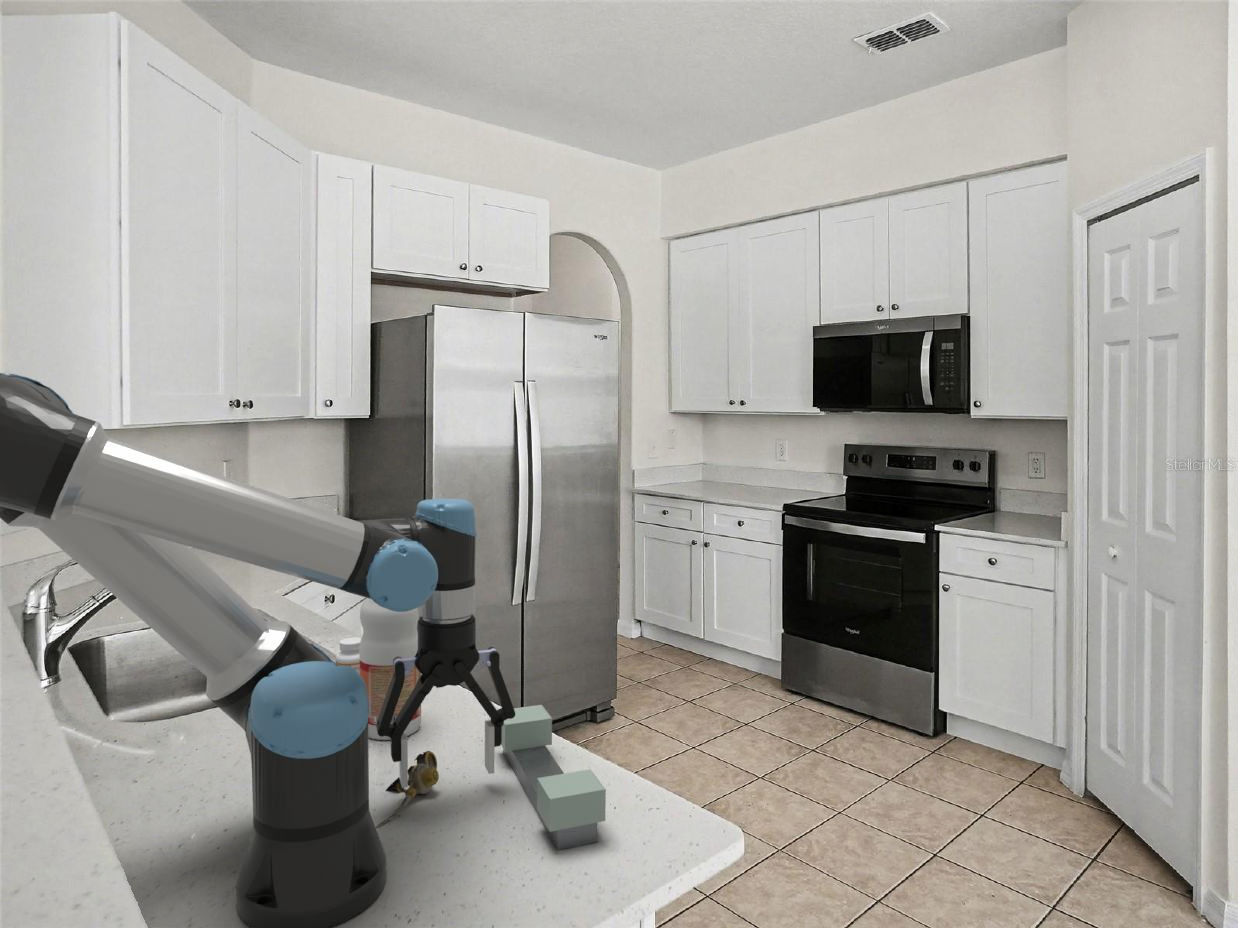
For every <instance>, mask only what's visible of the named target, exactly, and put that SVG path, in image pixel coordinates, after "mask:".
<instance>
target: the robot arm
mask: <svg viewBox="0 0 1238 928" xmlns="http://www.w3.org/2000/svg"><path fill="white" fill-rule="evenodd" d="M0 519H1V520H2V521H3V522H4V523H6V525H8V526H9V527H23V528H24V527H25V528H34V529H38V530H39V531H40V532H41V533H42V534H43V535H45V537H47V538H48V539H49V540H50V541H52V542H53V543H54V544H55V545H56V546H57V547H59V549H61V550H62V551H63V552H64V553H65V554H67V556H69V558H71V559H72V560H73V561H75V562H76V563H77V564H78V565H79V566H80V567H81V568H82V569H83V570H84V571H85V572H87V573H88V574H89V575H90V576H92V577H93V579H95V580H96V582H97V581H98V583H99V584H101V586H103V587H104V589H106V590H107V591H108V592H110V593H111V594H112V595H113V596H114V597H116V599H117V600H119V601H120V602H121V603H122V604H123V605H124V606H125V607H127V608H128V609H129V610H130V611H131V612H132V613H133V614H134V615H136V616H137V617H138V618H139V619H140V620H142V621H143V622H144V624H146V625H147V626H148V627H149V628H150V629H152V630H153V631H154V632H155V633H156V635H157V634H158V635H159V636H160V637H161V638H162V639H163V640H164V641H165V642H166V643H168V645H170V646H171V647H172V648H173V649H174V650H176V652H178V653H179V654H180V655H181V656H183V657H184V658H185V660H187V661H188V662H189V663H190V664H192V665H193V666H194V667H195V668H196V669H197V670H198V671H199V672H200V673H202V674H203V675H204V676H205V677H206V690H205V696H206V697H207V698H208V700H210V701H211V702H212V703H213V704H214V705H215V706H216V707H218V708H219V709H220V710H221V711H222V712H223V713H224V714H226V716H228V717H229V718H230V719H232V721H234V722H235V723H236V724H237V725H238V726H239V727H240V728H242V730H244V733H245V737H246V741H247V746H248V750H249V753H250V762H251V777H252V778H251V779H252V780H251V785H252V813H253V814H252V819H253V820H252V823H253V825H252V827H253V829H252V830H253V831H252V834H251V837H250V840H249V843H248V846H247V849H246V852H245V855H244V859H243V862H242V865H241V867H240V872H239V874H238V877H237V881H236V886H235V887H236V891H235V892H236V911H237V914H238V915H239V917H240V919H241V920H242V921H243V922H244V923H245V924H246V925H247V926H249V927H251V926H252V927H251V928H253V927H255V928H331V927H334V926H336V925H339V924H341V923H344V922H345V921H347V920H350V919H352V918H353V917H355V916H357V915H358V914H360V913H361V912H364V910H365V909H367V908H368V907H369V906H371V905H372V904H373V903H374V902H375V901H376V899H378V897H379V896H380V895H381V894H382V892H383V890H384V888H385V885H386V882H387V855H386V853H385V849H384V845H383V844H382V842H381V838H380V836H379V834H378V831H377V828H376V826H375V825H376V824H375V823H374V820H373V817H372V814H371V813H370V798H369V797H370V787H369V785H370V781H369V778H370V776H369V775H370V773H369V772H370V770H369V766H370V765H369V764H370V763H369V737H368V718H369V713H370V708H369V707H370V705H369V699H368V696H367V688H366V684H365V682H364V680H363V678H362V677H361V675H360V674H359V673H358V672H356V671H355V670H353V669H352V668H350V667H348V666H345V665H343V666H338V664H337V663H336V662H334V661H333V660H332V659H331V657H330V656H329V655H328V654H327V653H326V652H325V651H324V650H322V649H321V648H320V647H317V646H316V645H314V643H310V642H309V641H308V640H306V639H305V637H303V636H302V635H301V634H300V633H299V632H298V631H297V629H295V628H294V626H292V625H291V624H290V623H288V622H287V621H286V620H276V621H275V620H274V621H272V620H271V621H269V620H266V619H265V618H264V617H262V616H261V614H260V613H259V612H257V610H255V609H254V608H253V607H252V606H251V605H250V604H249V603H248V602H247V601H246V600H245V599H244V598H243V597H242V596H241V595H239V593H237V592H236V591H235V590H234V589H233V587H231V586H230V585H229V584H228V583H227V582H226V581H225V580H224V579H223V578H222V577H221V576H220V575H219V574H217V573H216V572H215V571H214V570H213V569H212V568H211V567H210V566H209V565H208V564H207V563H206V562H205V561H204V560H203V559H202V558H201V557H200V556H199V555H198V554H197V553H195V551H194V550H192V548H193V549H197V550H201V551H204V552H208V553H211V554H215V555H219V556H222V557H225V558H229V559H233V560H236V561H239V562H243V563H247V564H250V565H254V566H256V567H261V568H264V569H267V570H271V571H275V572H278V573H282V574H285V575H289V576H292V577H295V578H299V579H303V580H307V581H310V582H313V583H317V584H321V585H324V586H327V587H331V588H335V589H337V590H340V591H343V592H345V593H349V594H353V595H355V596H359V597H363V598H365V599H366V598H369V599H372V600H373V601H374V602H375V603H377V604H378V605H379V606H381V607H384V608H386V609H389V610H392V611H396V612H406V611H410V610H413V609H416V608H418V614H419V619H418V623H417V632H418V650H417V653H416V655H415V657H414V658H406V659H402V658H401V657H395V658H394V660H393V676H392V679H391V682H390V685H389V688H388V691H387V694H386V697H385V700H384V703H383V706H382V709H381V712H380V715H379V718H378V721H377V724H376V728H377V732H378V735H379V736H381V737H383V736H388V737H390V738H391V740H390V756H391V759H392V762H393V763H397V762H399V778H400V782H401V786H402V788H404V789H405V788H409V786H408V769H409V768H408V765H409V763H408V762H409V761H408V757H409V756H408V755H409V754H408V753H409V752H408V751H409V750H408V745H409V744H408V736H406V732H405V729H406V728H407V726H408V725H409V723H410V721H411V720H412V718H413V716H414V715H415V713H416V712H417V710H418V708H419V707H420V705H421V706H422V704H423V703H424V700H425V699H426V696H428V695H429V694H430V692H431V691H432V689H433V687H436V689H439V688H444V687H447V686H454V687H456V686H460V685H461V684H463V683H465V685H466V686H467V688H468V689H469V690H470V691H471V693H472V694H473V696H474V698H475V699H476V700H477V701H478V703H479V704H480V706H481V707H482V709H483V710H484V711H485V712H486V714H487V716H489V718H487V719H484V767H485V769H486V771H487V773H488V774H490V775H491V774H495V747H501V746H502V745H501V743H502V726H503V724H504V721H505V720H507V719H512V718H514V717H515V711H514V705H513V703H512V700H511V697H510V695H509V692H508V688H507V686H506V684H505V680H504V678H503V675H502V672H501V669H500V654H499V653H500V652H498V651H497V649H496V648H495V647H494V646H489V647H488V648H487V649H484V650H478V649H477V646H476V644H477V643H476V636H477V635H476V631H477V630H476V629H477V628H476V617H475V616H474V613H475V612H476V605H477V603H476V602H477V601H476V551H477V550H476V548H477V547H476V543H477V541H476V540H477V538H476V537H477V528H476V527H477V526H476V515H475V507H474V505H473V504H472V503H471V502H470V501H468V500H465V499H461V498H450V497H449V498H448V497H446V498H445V497H444V498H443V497H439V498H431V499H423V500H421V501H419V502H418V503H417V505H416V512H415V514H414V515H413V516H409V517H402V518H385V519H383V518H380V519H362V520H354V519H351V518H349V517H345V516H342V515H339V514H337V513H333V512H331V511H328V510H324V509H322V508H319V507H316V506H312V505H309V504H306V503H304V502H301V501H298V500H295V499H292V498H289V497H287V496H283V495H280V494H277V493H274V492H272V491H268V490H265V489H263V488H259V487H256V486H254V485H250V484H248V483H244V482H242V481H239V480H236V479H233V478H230V477H228V476H227V477H226V476H224V475H221V474H218V473H215V472H212V471H209V470H206V469H203V468H200V467H198V466H194V465H191V464H189V463H185V462H183V461H180V460H177V459H173V458H171V457H168V456H165V455H162V454H160V453H159V454H158V453H156V452H152V451H150V450H147V449H144V448H141V447H138V446H135V445H132V444H130V443H126V442H124V441H120V440H117V439H115V438H112V437H110V436H109V435H107V433H106V431H105V429H104V428H103V426H102V424H101V423H100V422H99V421H95V420H93V419H90V418H87V417H84V416H81V415H78V414H75V413H74V412H73V410H72V409H71V408H70V407H69V405H68V403H67V401H66V400H65V399H64V398H63V397H62V396H61V394H59V393H57V391H55V390H54V389H53V388H51V387H50V386H47V385H44V384H43V383H41V381H38V380H36V379H33V378H30V377H28V376H25V375H24V376H23V375H19V374H15V373H9V372H6V373H5V372H0ZM479 661H481V662H482V664H483V665H484V666H483V667H487V669H488V672H489V675H490V678H491V680H492V681H491V682H492V684H493V686H494V689H495V692H496V695H497V697H498V700H499V702H500V706H501V707H500V708H498V709H497V708H496V706H495V705H494V704H493V702H492V701H491V699H490V698H489V697H488V696H487V694H486V693H485V691H484V689H483V688H482V687H481V686H480V684H479V683H478V681H477V680H476V678H475V677H474V676H473V674H472V673H471V672H472V671H473V670H474V668H475V667H476V665H477V664H478V662H479ZM413 667H416V668H417V669H418V670H419V672H420V673H421V676H420V678H419V679H418V681H417V684H416V686H415V688H414V689H413V691H412V693H411V694H410V696H409V698H408V699H407V701H406V702H405V704H404V706H403V707H402V709H401V711H400V712H399V714H398V715H397V717H396V719H395V720H394V722H393V723H392V724H390V723H391V720H392V717H393V714H394V711H395V708H396V705H397V702H398V699H399V696H400V693H401V690H402V688H403V684H404V680H405V676H408V675H409V674H410V671H411V669H412V668H413Z"/></svg>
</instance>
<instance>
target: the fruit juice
mask: <svg viewBox="0 0 1238 928" xmlns="http://www.w3.org/2000/svg"><path fill="white" fill-rule="evenodd" d="M362 602H363V603H362V604H361V606H360V609H359V610H360V611H359V618H360V619H359V621H360V624H361V627H362V630H363V631H362V635H361V637H360V638H361V641H360V652H359V659H360V675H361V677H362V678H363V680H364V682H365V684H366V688H367V696H368V699H369V705H370V707H369V708H370V713H369V718H368V739H372V740H379V741H381V740H382V741H388V740H389V741H391V738H390V737H388V736H383V737H381V736H379V735H378V732H377V728H376V724H377V721H378V718H379V715H380V712H381V709H382V706H383V703H384V700H385V697H386V694H387V691H388V688H389V685H390V682H391V679H392V676H393V660H394V658H395V657H401V658H402V659H406V658H414V657H415V655H416V653H417V650H418V620H419V619H420V615H419V614H418V608H416V609H413V610H410V611H406V612H396V611H392V610H389V609H386V608H384V607H381V606H379V605H378V604H377V603H375V602H374V601H373V600H372V599H369V598H366V597H365V599H364V601H362ZM420 676H421V673H420V672H419V670H418V669H417V668H416V667H413V668H412V669H411V671H410V674H409V675H408V676H405V680H404V684H403V688H402V690H401V693H400V696H399V699H398V702H397V705H396V708H395V711H394V714H393V717H392V720H391V723H390V724H392V723H393V722H394V720H395V719H396V717H397V715H398V714H399V712H400V711H401V709H402V707H403V706H404V704H405V702H406V701H407V699H408V698H409V696H410V694H411V693H412V691H413V689H414V688H415V686H416V684H417V681H418V679H419V678H420ZM421 723H422V704H421V705H420V707H419V708H418V710H417V712H416V713H415V715H414V716H413V718H412V720H411V721H410V723H409V725H408V726H407V728H406V729H405V732H406V736H407V737H408V736H411V735H412V734H414V733H416V732H417V731H418V730H419V728H420V727H421Z"/></svg>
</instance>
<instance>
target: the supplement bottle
mask: <svg viewBox="0 0 1238 928" xmlns="http://www.w3.org/2000/svg"><path fill="white" fill-rule="evenodd" d="M361 638H362V637H356V636H355V637H347V638H342V639H341V640H340V641H339V652H338V653H337V654H336V655H335V663H337V664H338V666H343V665H345V666H348V667H350V668H352V669H353V670H355V671H356V672H358V673H359V674H360V659H359V652H360V641H361Z"/></svg>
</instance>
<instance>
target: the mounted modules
mask: <svg viewBox="0 0 1238 928" xmlns="http://www.w3.org/2000/svg"><path fill="white" fill-rule="evenodd" d="M513 708H514V707H513ZM514 711H515V717H514V718H512V719H507V720H505V721H504V724H503V726H502V743H501V745H500V746H501V747H502V750H503V749H504V751H505V752H507V751H513V750H520V749H526V748H533V747H540V746H546V747H547V746H551V745H553V744H552V743H553V718H552V716H551V715H550V713H549V712H548V711H547V710H546V709H545V707H544V706H543V705H542V704H537V705H536V704H535V705H530V706H523V707H515V708H514ZM606 790H607V789H606V788H605V786H604V785H603V783H602V782H601V781H600V780H599V778H598V776H596V774H595V773H594V771H592V769H584V770H578V771H571V772H566V773H564V774H559V775H553V776H547V777H541V778H537V810H538V812H539V813H540V815H541V817H542V819H543V821H544V822H545V824H546V826H547V828H548V830H549V831H550V832H551V831H556V830H561V829H567V828H572V827H577V826H582V825H587V824H592V823H601V822H605V821H606V808H607V807H606V803H607V802H606V801H607V800H606V795H607V793H606Z"/></svg>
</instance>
